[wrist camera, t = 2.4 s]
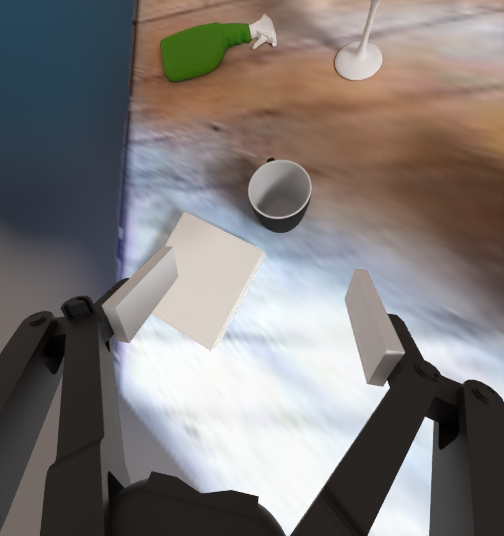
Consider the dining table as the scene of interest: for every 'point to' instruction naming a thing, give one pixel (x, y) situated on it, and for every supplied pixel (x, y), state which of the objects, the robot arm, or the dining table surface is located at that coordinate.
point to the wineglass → (360, 54)
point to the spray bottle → (209, 46)
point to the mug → (280, 194)
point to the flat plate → (207, 280)
